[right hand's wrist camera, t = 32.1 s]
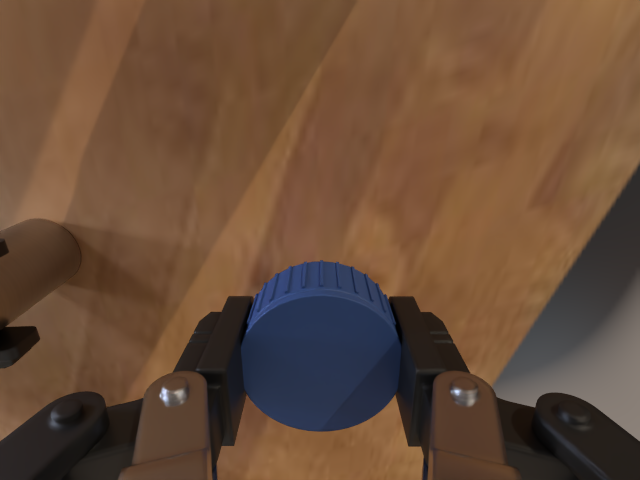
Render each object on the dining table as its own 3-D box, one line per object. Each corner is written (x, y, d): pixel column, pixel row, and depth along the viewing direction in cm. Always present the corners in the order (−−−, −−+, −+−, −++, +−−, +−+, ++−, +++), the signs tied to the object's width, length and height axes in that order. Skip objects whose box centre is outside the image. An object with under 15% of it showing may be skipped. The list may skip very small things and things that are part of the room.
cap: (237, 265, 12) (220, 301, 10) (390, 252, 11) (405, 285, 9) (260, 387, 13) (250, 439, 11) (394, 376, 13) (408, 427, 11)
